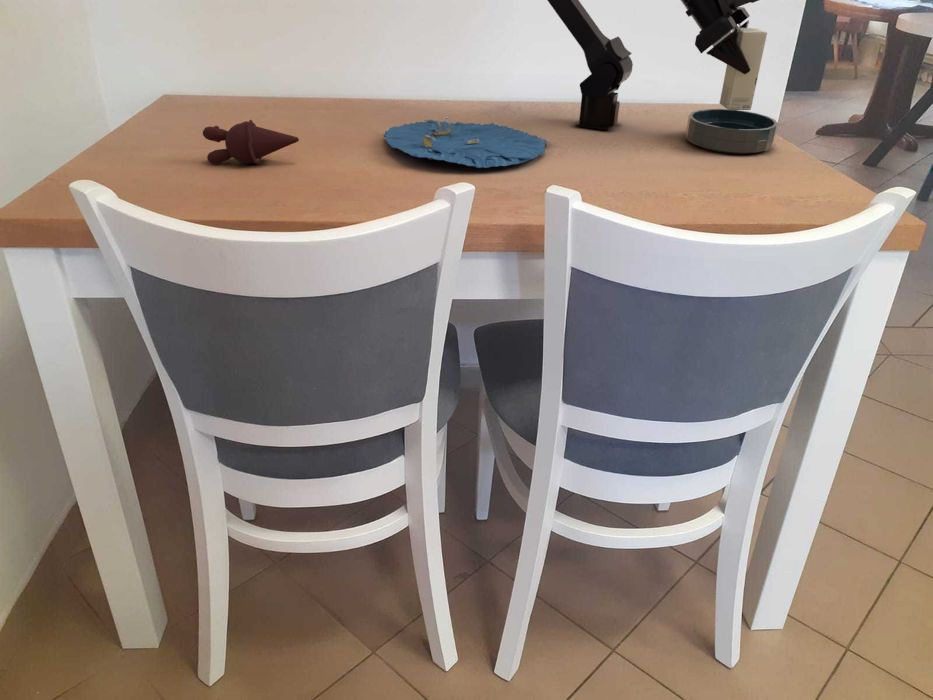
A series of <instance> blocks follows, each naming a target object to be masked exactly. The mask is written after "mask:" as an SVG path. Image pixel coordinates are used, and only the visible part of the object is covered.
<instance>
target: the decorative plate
mask: <svg viewBox="0 0 933 700" xmlns="http://www.w3.org/2000/svg"><path fill="white" fill-rule="evenodd" d="M449 119H450V117H449V116H446V117H444V119H443V121H439V120H434V119H428V120H425V119H424V121H416V122H411V123H404V124H402V125H397V126H392V127H390V128H389V129H388V130H385V131H384V133H383V134H382V138H383V139H384V138H385V141H386V142H387V144H388V145H389V146H390V147H391V148H393V149H399V150H400V151H402V152H403V153H406V154H409V155H410V156H411V157H417V158H421V159H423V158H427V159H428V161H433V160H436V161H445V162H446V163H455V164H458V165H465V166H467V167H475V168H478V169H483V168H485V169H487V168H488V169H489V168H491V167H501V166H502V167H507V166H508V167H509V166H511V165H515V166H517V165H519V164H524V163H525V162H529V161H531V160H534V159H536V158H538V157H540V155H543V154H544V153H545V152H546V147H545V146H546V145H547V143H548V141H547V140H546V139H543V138H542V137H538V136H537V135H532V134H529V132H527V131H526V132H524V131H523V130H520V129H514V128H513V127H509V126H507V125H499V124H495V123H494V122H490V123H489V122H488V123H484V124H481V123H474V122H469V123H463V122H458V121H457V122H455V123H453V122H450V120H449Z"/></svg>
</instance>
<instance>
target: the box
mask: <svg viewBox="0 0 933 700" xmlns="http://www.w3.org/2000/svg"><path fill="white" fill-rule="evenodd" d="M736 29H737V28H734V31H735V30H736ZM767 35H768V32H767V31H765V30H762V29H759V28H752V27H747V28H740V32H739V37H738V43H739V45H740V47H741V49H742V51H743V54H744V56H745V58H746V60H747V62H748V65H749V67H750V71H749V72H748V73H747V74H743V73H741V72H740V71H738V70H736V69H734V68H733V67H731V66H729V65H727V64H726V66H725V67H726V68H725V73H724V78H723V83H722V89H721V93H720V99H719V104H720V105H721V106H722V107H724V109H729V110H741V111H751V110H752V105H753V103H754V102H753V101H754V97H755V92H756V87H757V83H758V78H759V73H760V68H761V63H762V60H763V55H764V50H765V46H766V41H767Z"/></svg>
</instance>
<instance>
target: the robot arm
mask: <svg viewBox="0 0 933 700" xmlns="http://www.w3.org/2000/svg"><path fill="white" fill-rule="evenodd" d="M546 1H547V3H549V5H550V6H551V8H552V9H553V10H554V12H555V13H556V15H557V16H558V17H559V19H560V20H561V21H562V23H563V24H564V26H565V27H566V28H567V30H568V31H569V33H570V34H571V35H572V37H573V38H574V40H575V41H576V42H577V44H578V45H579V47H580V48H581V49H582V52H583V54H584V57H585V61H586V64H587V68H588V71H589V73H590V74H589V75H588V76H587V77H586V78H585V79H584V80H582V81H581V82H580V83H579V90H580V94H581V101H580V110H579V111H580V112H579V119H578V120H579V121H578V122H576V123H575V126H576V127H579V128H587V129H593V130H601V131H610V130H611V129H612V128H613V127H615V126H616V125H617V124H618V121H619V120H618V119H619V112H620V111H619V110H620V105H621V103H620V101H618V97H619V92H616V91H618V90H619V89H620V87H621V85H622V83H624V82H625V81H627V80H628V79H629V78H630V76H631V74H632V73H633V67H634V66H633V65H634V64H633V60H632V58H631V57H630V55H632V52H631V51H629V50H628V49H627V48H626V47H625V45H624V42H623V40H622V39H621V38H620V37H619V36H616V37H614V38H611V39H610V38H609V37H607V36H606V35H605V34H604V33H603V32H602V31H601V30H600V28H599V26H598V25H597V24H596V22H595V21H594V20H593V18H592V17H591V15H590V14H589V13H588V11H587V10H586V8H585V7H584V6H583V4H582V2H581V1H580V0H546ZM758 1H760V0H680V2H681V3H682V5H683V6H684V8H685V9H686V10H685V14H686V15H687V17H688V18H690V17H692V19H693V21H694V22H695V24H696V25H697V26H698V28H699V29H700V31H698V33H697V35H696V36H695V41H694V46H695V47H696V49H697V50H698V51H699V53H700V54H703V53H704V52H706V55H709V56H711V57H712V58H715V59H717V60H718V61H720V62H722V63H724V64H725V65H726V66H727V65H729V66H731V67H733V68H734V69H736V70H738V71H740V72H741V73H743V74H747V73H748V72H749V71H750V67H749V65H748V62H747V60H746V58H745V56H744V54H743V51H742V49H741V47H740V45H739V43H738V37H739V32H740V28H749V27H748V26H749V23H750V20H747V19H748V18H750V17H751V15H750V14H749V12H748V11H747V9H746V8H745V7H742V6H744V5H747V4H750V3H751V4H753V3H756V2H758ZM746 20H747V21H746ZM744 21H746V22H744ZM743 22H744V23H743ZM734 28H737V29H736V30H735V31H734ZM711 46H712V48H711V49H709V48H710V47H711ZM708 49H709V50H708ZM707 50H708V51H707Z"/></svg>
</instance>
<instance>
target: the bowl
mask: <svg viewBox="0 0 933 700" xmlns="http://www.w3.org/2000/svg"><path fill="white" fill-rule="evenodd" d="M778 125H779V123H778V121H777V120H776V119H775V118H773V117H770V116H768V115H764V114H761V113H757V112H753V111H749V110H729V109H727V108H707V109H697V110H695V111H692V112H690V113H689V114H688V118H687V124H686V129H685V134H684V137H685V139H686V141H688V142H690V144H692V145H695V146H697V147H699V148H702V149H705V150H708V151H712V152H717V153H723V154H724V153H725V154H734V155H744V154H745V155H746V154H747V155H748V154H756V153H760V152H766V151H768V150H771V149H772V147H773V145H774V142H775V138H776V134H777V129H778V127H779V126H778Z"/></svg>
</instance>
